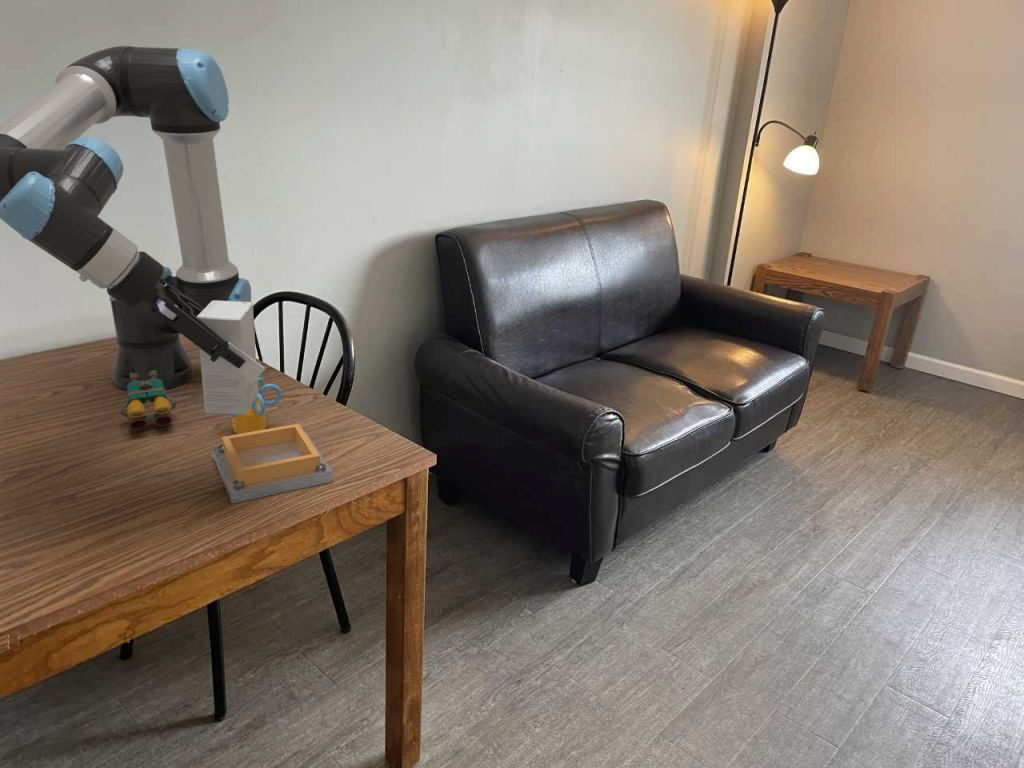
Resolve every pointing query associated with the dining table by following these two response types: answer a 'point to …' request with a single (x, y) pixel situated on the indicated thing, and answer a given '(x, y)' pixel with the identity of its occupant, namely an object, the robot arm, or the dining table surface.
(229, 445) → the frame
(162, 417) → the binoculars
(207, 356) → the skincare box
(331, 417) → the dining table surface
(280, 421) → the dining table surface
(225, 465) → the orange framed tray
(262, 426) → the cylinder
